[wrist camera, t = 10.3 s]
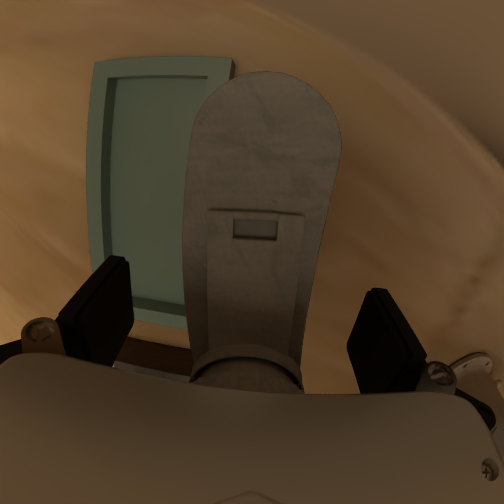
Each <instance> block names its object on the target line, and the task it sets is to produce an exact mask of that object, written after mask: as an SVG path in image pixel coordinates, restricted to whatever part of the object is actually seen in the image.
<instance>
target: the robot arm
mask: <svg viewBox="0 0 504 504" xmlns="http://www.w3.org/2000/svg"><path fill="white" fill-rule="evenodd" d="M133 323H134V309H133V300H132V289H131V277H130V264H129V262H128V261H126V259H125V257H123V256H116V255H110V256H109V257H108V258H107V259H106V260H105V261H104V262H103V263H102V264H101V265H100V266H99V267H98V268H97V270H96V271H95V272H94V273H93V274H92V275H91V276H90V277H89V278H88V280H87V281H86V282H85V283H84V284H83V285H82V286H81V288H80V289H79V290H78V291H77V292H76V293H75V295H74V296H73V297H72V298H71V299H70V300H69V302H68V303H67V304H66V305H65V306H64V308H63V309H62V310H61V311H60V313H59V316H58V317H57V318H56V319H55V321H54V320H53V319H51V318H47V317H40V318H36V319H33V320H31V321H29V322H28V323H27V324H26V325H25V326H24V327H23V329H22V331H21V339H20V340H16V341H13V342H10V343H6V344H3V345H0V504H504V398H503V397H502V395H501V393H500V392H499V390H498V388H499V387H501V385H502V381H501V380H495V381H494V379H493V378H492V376H491V374H490V373H491V370H492V360H491V359H490V357H489V356H488V355H487V354H484V353H477V354H473V355H470V356H467V357H465V358H463V359H461V360H460V361H458V362H456V363H455V364H453V365H452V366H450V367H449V366H448V365H446V364H444V363H442V362H439V361H431V362H429V363H427V362H426V360H425V359H426V357H427V354H426V352H425V350H424V349H423V347H422V345H421V343H420V342H419V340H418V338H417V337H416V335H415V333H414V332H413V330H412V328H411V327H410V325H409V323H408V322H407V320H406V318H405V317H404V315H403V314H402V312H401V310H400V309H399V307H398V306H397V304H396V303H395V301H394V299H393V298H392V296H391V295H390V293H389V292H388V290H387V289H383V288H372V289H371V291H368V292H367V293H366V296H365V298H364V301H363V304H362V306H361V309H360V312H359V314H358V317H357V319H356V322H355V324H354V327H353V329H352V332H351V334H350V337H349V339H348V342H347V352H348V355H349V358H350V361H351V364H352V367H353V370H354V373H355V377H356V380H357V383H358V386H359V390H360V393H361V394H304V393H282V392H267V391H255V390H244V389H234V388H225V387H217V386H210V385H202V384H196V383H189V382H183V381H177V380H171V379H165V378H160V377H155V376H150V375H145V374H140V373H136V372H131V371H127V370H122V369H118V368H114V367H112V366H113V364H114V362H115V360H116V358H117V356H118V354H119V352H120V350H121V348H122V346H123V344H124V342H125V340H126V338H127V336H128V334H129V332H130V330H131V328H132V326H133Z"/></svg>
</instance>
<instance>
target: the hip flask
mask: <svg viewBox="0 0 504 504" xmlns="http://www.w3.org/2000/svg"><path fill="white" fill-rule="evenodd" d="M341 148H342V147H341V133H340V129H339V125H338V122H337V119H336V117H335V115H334V113H333V111H332V109H331V107H330V105H329V104H328V103H327V101H326V100H325V99H324V98H323V96H322V95H321V94H320V93H319V92H318V91H316V90H315V89H314V88H313V87H312V86H310V85H309V84H307V83H305V82H304V81H302V80H300V79H298V78H296V77H293V76H290V75H287V74H284V73H279V72H270V71H262V72H251V73H247V74H244V75H241V76H237V77H235V78H233V79H231V80H229V81H227V82H225V83H224V84H222V85H221V86H220V87H218V88H217V89H216V90H215V91H214V92H212V93H211V94H210V96H209V97H208V98H207V99H206V100H205V102H204V103H203V104H202V106H201V108H200V110H199V112H198V113H197V115H196V117H195V120H194V124H193V128H192V131H191V138H190V145H189V153H188V161H187V169H186V177H185V188H184V203H183V220H182V271H183V288H184V301H185V313H186V320H187V327H188V334H189V341H190V346H191V351H192V356H193V361H194V365H193V367H192V373H191V377H190V379H189V383H196V384H202V385H210V386H217V387H225V388H234V389H244V390H255V391H267V392H282V393H304V394H305V392H304V388H303V385H302V374H301V371H300V364H301V354H302V345H303V338H304V331H305V324H306V317H307V312H308V306H309V301H310V295H311V289H312V283H313V278H314V273H315V268H316V263H317V258H318V253H319V248H320V243H321V239H322V234H323V230H324V226H325V221H326V217H327V212H328V208H329V203H330V199H331V195H332V191H333V187H334V183H335V179H336V175H337V170H338V166H339V162H340V155H341ZM298 386H299V388H298Z"/></svg>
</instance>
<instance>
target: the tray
mask: <svg viewBox="0 0 504 504" xmlns="http://www.w3.org/2000/svg"><path fill="white" fill-rule="evenodd" d="M234 70H235V63H234V61H233V59H232V58H221V57H200V56H160V57H139V58H126V59H115V60H106V61H98V62H95V63H94V69H93V76H92V84H91V92H90V101H89V112H88V126H87V145H86V201H87V221H88V235H89V246H90V256H91V265H92V273H94V272H95V271H96V270H97V268H98V267H99V266H100V265H101V264H102V263H103V262H104V261H105V260H106V259H107V258H108V257H109V256H110V255H116V256H123V257H125V259H126V261H128V262H129V264H130V277H131V289H132V300H133V309H134V320H139V321H144V322H149V323H154V324H159V325H164V326H170V327H176V328H181V329H187V330H188V327H187V320H186V313H185V301H184V288H183V271H182V220H183V203H184V188H185V177H186V169H187V161H188V153H189V145H190V138H191V131H192V128H193V124H194V120H195V117H196V115H197V113H198V112H199V110H200V108H201V106H202V104H203V103H204V102H205V100H206V99H207V98H208V97H209V96H210V94H211V93H212V92H214V91H215V90H216V89H217V88H218V87H220V86H221V85H222V84H224V83H225V82H227V81H229V80H231V79H233V77H234Z"/></svg>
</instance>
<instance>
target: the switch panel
mask: <svg viewBox="0 0 504 504" xmlns="http://www.w3.org/2000/svg"><path fill="white" fill-rule="evenodd" d="M193 365H194V361H193V356H192V351H191V349H185V348H179V347H174V346H168V345H163V344H158V343H153V342H148V341H143V340H139V339H134V338H130V337H127V338H126V340H125V342H124V344H123V346H122V348H121V350H120V352H119V354H118V356H117V358H116V360H115V362H114V366H115V368H118V369H122V370H127V371H131V372H136V373H140V374H145V375H150V376H155V377H160V378H165V379H171V380H177V381H183V382H189V379H190V377H191V373H192V367H193Z"/></svg>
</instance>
